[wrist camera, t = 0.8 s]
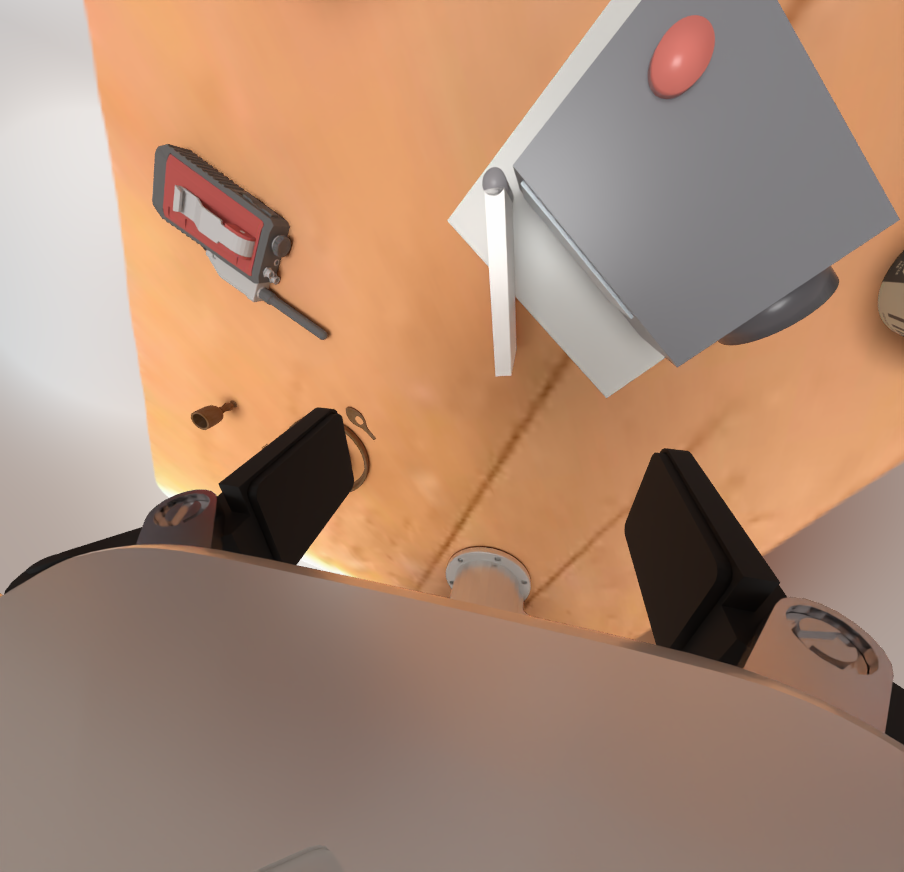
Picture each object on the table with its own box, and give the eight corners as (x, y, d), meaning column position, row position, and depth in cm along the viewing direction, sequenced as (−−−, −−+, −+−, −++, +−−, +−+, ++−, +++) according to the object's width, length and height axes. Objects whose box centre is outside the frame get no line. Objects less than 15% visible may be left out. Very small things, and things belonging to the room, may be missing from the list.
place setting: (321, 503, 51) (298, 530, 46) (222, 400, 45) (183, 419, 40) (403, 459, 43) (385, 487, 38) (296, 328, 38) (259, 341, 33)
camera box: (860, 219, 23) (1053, 202, 14) (605, 396, 33) (630, 449, 24) (679, -89, 19) (799, -376, 10) (448, 220, 29) (409, 208, 20)
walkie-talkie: (169, 230, 35) (329, 342, 37) (124, 227, 31) (306, 353, 34) (177, 136, 31) (359, 270, 33) (126, 120, 27) (336, 273, 29)
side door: (517, 349, 32) (512, 375, 25) (503, 350, 32) (494, 376, 26) (513, 186, 26) (505, 164, 19) (495, 189, 26) (481, 169, 20)
